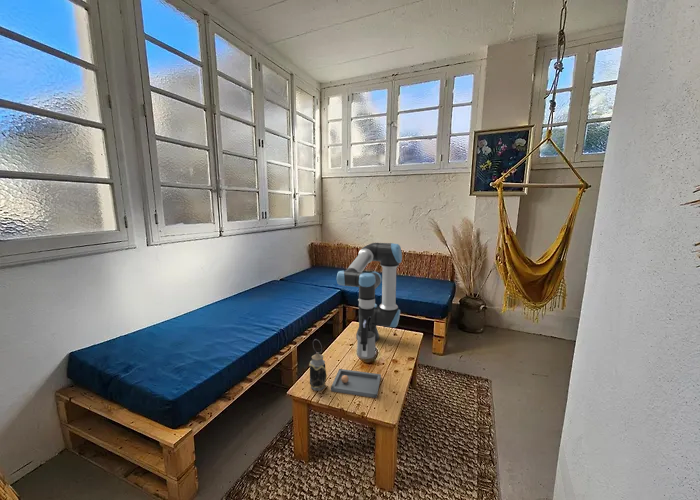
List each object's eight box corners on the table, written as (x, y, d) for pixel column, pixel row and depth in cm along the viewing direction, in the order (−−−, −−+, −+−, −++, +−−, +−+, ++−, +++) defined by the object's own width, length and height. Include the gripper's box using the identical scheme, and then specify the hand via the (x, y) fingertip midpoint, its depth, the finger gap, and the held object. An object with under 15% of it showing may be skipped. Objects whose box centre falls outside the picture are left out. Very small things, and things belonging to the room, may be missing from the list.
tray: (339, 372, 151) (339, 368, 151) (380, 378, 147) (380, 374, 146) (330, 392, 136) (330, 387, 136) (376, 399, 131) (376, 394, 131)
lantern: (306, 387, 140) (304, 339, 136) (318, 380, 145) (318, 333, 141) (317, 395, 134) (316, 345, 130) (330, 387, 139) (329, 339, 135)
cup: (373, 359, 133) (373, 339, 131) (356, 357, 134) (356, 337, 133) (375, 350, 141) (376, 331, 139) (359, 348, 142) (359, 329, 141)
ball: (342, 379, 145) (342, 373, 144) (349, 380, 144) (349, 374, 143) (340, 384, 141) (340, 377, 141) (347, 385, 140) (347, 378, 140)
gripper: (362, 298, 145) (362, 340, 148) (354, 314, 124) (353, 362, 128) (377, 299, 143) (376, 341, 147) (371, 315, 123) (370, 364, 126)
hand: (366, 351), depth 137 cm, fingers closed on cup, 8 cm apart
